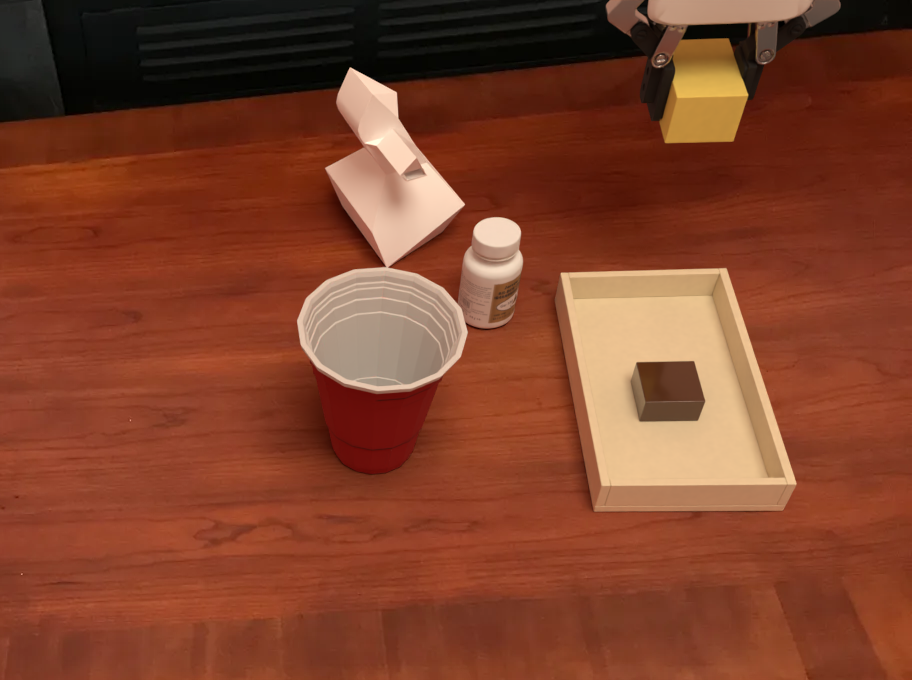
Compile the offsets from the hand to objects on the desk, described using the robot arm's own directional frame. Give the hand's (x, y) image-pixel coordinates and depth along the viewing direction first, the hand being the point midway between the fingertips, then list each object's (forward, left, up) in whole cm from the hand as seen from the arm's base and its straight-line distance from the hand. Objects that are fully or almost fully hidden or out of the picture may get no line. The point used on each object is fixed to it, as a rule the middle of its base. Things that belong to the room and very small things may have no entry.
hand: (692, 106), depth 80 cm
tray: (+1, +14, -14) cm, 20 cm away
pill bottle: (+13, +5, -15) cm, 20 cm away
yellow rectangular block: (0, 0, -1) cm, 1 cm away
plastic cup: (+22, +19, -15) cm, 32 cm away
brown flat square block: (+1, +15, -14) cm, 20 cm away
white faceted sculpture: (+20, -7, -15) cm, 26 cm away
